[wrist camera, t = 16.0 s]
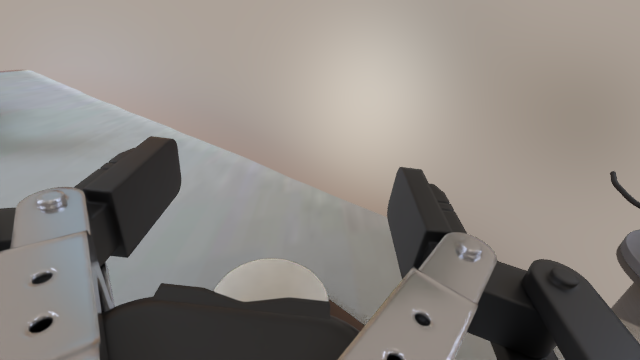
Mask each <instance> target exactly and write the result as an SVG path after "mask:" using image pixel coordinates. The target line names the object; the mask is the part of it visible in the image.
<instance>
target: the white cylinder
mask: <svg viewBox="0 0 640 360" xmlns="http://www.w3.org/2000/svg"><path fill="white" fill-rule="evenodd" d="M214 292H216V293H219V294H222V295H225V296H228V297H230V298H233V299H236V300H239V301H243V302H250V301H259V300H268V299H277V298H286V297H292V298H301V299H311V300H320V301H329V300H328V295H327V293H326V290H325V288H324V286H323V284H322V283H321V281H320V280H319V279H318V277H317V276H316V275H315V274H314V273H312V272H311V271H310V270H308V269H307V268H305V267H304V266H302V265H300V264H298V263H295V262H292V261H288V260H284V259H275V258H269V259H259V260H254V261H251V262H248V263H245V264H243V265H241V266H239V267H237V268H235V269H233V270H232V271H231V272H229V273H228V274H227V275H226V276H225V277H224V278H223V279H222V280H221V281H220V282H219V283H218V285H217V286H216V288H215V290H214Z"/></svg>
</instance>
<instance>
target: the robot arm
mask: <svg viewBox="0 0 640 360" xmlns="http://www.w3.org/2000/svg"><path fill="white" fill-rule="evenodd" d="M610 175H611V182H612V184H613V186H614V187H615V188H616V189H617V190H618V191H619V192H620V193H621V194H622V195H623V196H624V197H625V198H626V199H627V200H628V201H629V202H630V203H632V204H633V205H634V206H636V207H638V208H640V203H639V202H637V201H636V200H635V199H634V198H633V197H631V195H629V194H628V193H627V192H626V190H625V189H624V188H623V187H622V186H621V185H619V183H618V181H617V177H616V173H615V172H614V171H613V172H611V173H610ZM180 186H181V173H180V165H179V156H178V148H177V143H176V141H175V140H174V139H169V138H161V137H152V136H151V137H149V138H147V139H146V140H145V141H144V142H142V143H141V144H140V145H138V146H137V147H136V148H133V149H130V150H127V151H125V152H122V153H120V154H118V155H117V156H115V157H114V158H113V159H111V160H110V161H109V163H106V164H105V165H103V166H102V167H101V169H98V170H97V171H95V172H94V173H92V174H91V175H90V176H88V177H87V178H86V179H84V180H83V181H82V182H80V183H79V184H78V185H76V186H75V187H74V188H72V187H57V188H51V189H46V190H42V191H39V192H36V193H34V194H32V195H30V196H28V197H26V198H24V199H23V200H22V201H21V202H19V204H18V205H17V207H16V208H4V209H0V360H454V358H455V356H456V354H457V352H458V350H459V347H460V345H461V343H462V341H463V339H464V336H465V334H466V332H468V333H471V334H473V335H476V336H478V337H481V338H483V339H486V340H489V341H490V342H491V345H492V347H493V350H494V352H495V355H496V357H497V360H558V358H557V356H556V355H555V353H554V351H553V349H554V348H555V347H556V346H558V348H559V350H560V352H561V353H562V355H563V357H564V358H565V360H640V344H639V343H638V342H637V340H636V339H635V338H634V337H633V335H632V334H631V333H630V332H629V331H628V329H627V328H626V327H625V326H624V324H623V323H622V322H621V321H620V320H619V318H618V317H617V316H616V315H615V313H614V312H613V311H612V310H611V309H610V307H609V306H608V305H607V304H606V303H605V301H604V300H603V299H602V298H601V297H600V295H599V294H598V293H597V292H596V290H595V289H594V288H593V287H592V285H591V284H590V283H589V282H588V281H587V280H586V279H585V278H584V277H582V276H581V275H580V274H579V273H577V272H576V271H574V270H573V269H571V268H569V267H567V266H565V265H563V264H560V263H558V262H555V261H551V260H544V259H541V260H536V261H534V262H533V263H532V264H531V266H530V267H529V269H528V271H526V270H522V269H519V268H516V267H513V266H510V265H507V264H504V263H501V262H499V261H497V258H496V255H495V252H494V251H493V250H492V248H491V247H490V246H488V245H487V244H486V243H485V242H483V241H482V240H480V239H478V238H477V237H474V236H472V235H469V234H467V233H466V231H465V229H464V227H463V226H462V224H461V222H460V220H459V218H458V217H457V215H456V213H455V212H454V209H453V208H452V206H451V204H449V200H448V199H447V197H446V195H445V193H444V192H443V191H441V190H440V189H439V188H438V187H437V186H435V185H434V184H429V183H428V181H427V179H426V177H425V175H424V173H423V171H422V170H421V169H412V168H404V167H400V168H399V170H398V172H397V174H396V178H395V182H394V185H393V189H392V193H391V196H390V200H389V204H388V212H387V217H388V222H389V227H390V231H391V235H392V239H393V243H394V247H395V251H396V256H397V260H398V264H399V268H400V272H401V276H402V281H401V282H400V283H399V284H398V286H397V287H396V288H395V289H394V291H393V292H392V293H391V294H390V296H389V297H388V298H387V299H386V300H385V302H384V303H383V304H382V305H381V307H380V308H379V309H378V310H377V312H376V313H375V314H374V315H373V317H372V318H371V319H370V320H369V321H368V323H367V324H366V325H365V326H364V328H363V329H362V330H361V331H359V330H357V329H356V328H355V327H353V326H352V325H350V324H348V323H347V322H345V321H343V320H341V319H339V318H337V317H334V316H331V315H330V302H329V301H320V300H311V299H301V298H292V297H286V298H277V299H268V300H259V301H250V302H243V301H239V300H236V299H233V298H230V297H228V296H225V295H222V294H219V293H216V292H214V291H211V290H208V289H205V288H200V287H191V286H182V285H173V284H164V283H161V285H160V286H159V288H158V290H157V291H156V293H155V295H154V296H153V297H148V298H143V299H138V300H134V301H131V302H128V303H124V304H122V305H119V306H117V307H115V305H114V299H113V294H112V289H111V283H110V278H109V272H108V268H107V264H106V260H107V259H108V258H109V257H110V256H118V257H127V258H128V257H129V256H130V254H131V253H132V252H133V250H134V249H135V248H136V247H137V245H138V244H139V243H140V242H141V240H142V239H143V238H144V236H145V235H146V234H147V233H148V231H149V230H150V229H151V227H152V226H153V225H154V224H155V222H156V221H157V220H158V219H159V217H160V216H161V215H162V213H163V212H164V211H165V210H166V208H167V207H168V206H169V204H170V203H171V202H172V201H173V199H174V198H175V197H176V196H177V194H178V192H179V190H180Z"/></svg>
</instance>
